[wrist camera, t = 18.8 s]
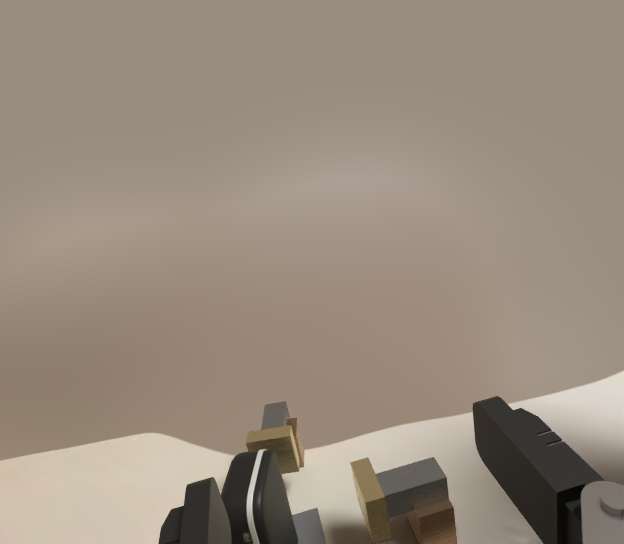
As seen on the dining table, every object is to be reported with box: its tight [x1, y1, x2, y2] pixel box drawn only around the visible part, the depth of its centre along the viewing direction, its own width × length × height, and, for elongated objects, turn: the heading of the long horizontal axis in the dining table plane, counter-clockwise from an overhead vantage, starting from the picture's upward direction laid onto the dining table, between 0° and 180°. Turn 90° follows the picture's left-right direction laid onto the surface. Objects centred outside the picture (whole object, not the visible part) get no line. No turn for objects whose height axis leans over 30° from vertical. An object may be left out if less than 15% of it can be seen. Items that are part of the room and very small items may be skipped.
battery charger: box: [221, 449, 298, 544], centre depth 36 cm, size 7×4×11 cm, turn 176°
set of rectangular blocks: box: [246, 402, 457, 544], centre depth 43 cm, size 8×23×8 cm, turn 50°
